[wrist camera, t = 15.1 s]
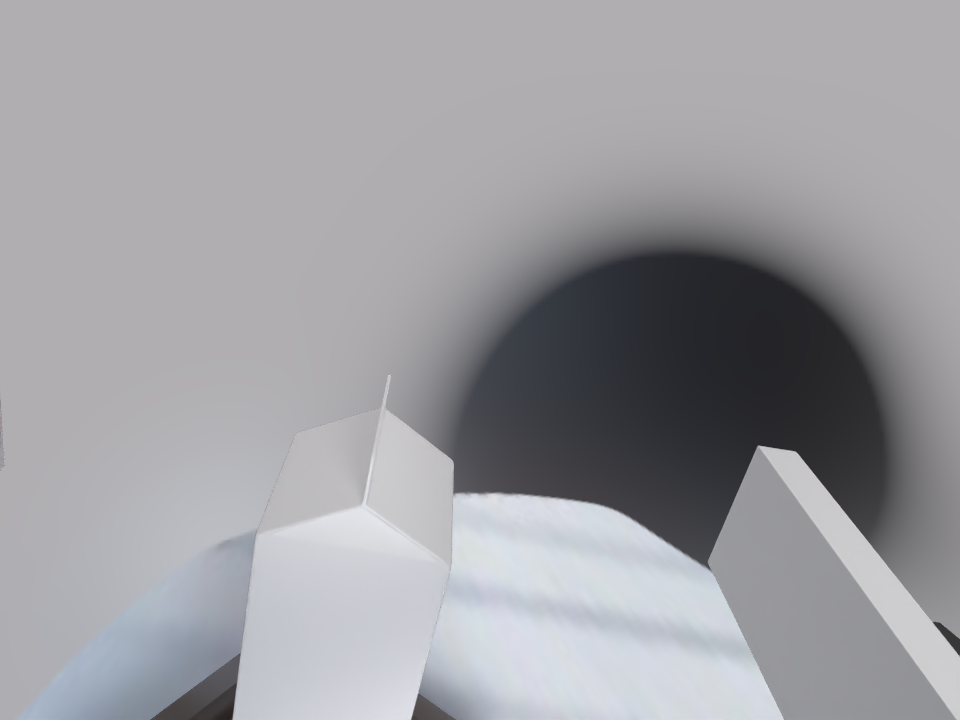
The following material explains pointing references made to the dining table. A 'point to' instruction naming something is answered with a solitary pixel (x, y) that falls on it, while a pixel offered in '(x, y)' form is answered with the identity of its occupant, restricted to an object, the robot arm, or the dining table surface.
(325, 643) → the milk
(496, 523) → the dining table surface
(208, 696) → the dock
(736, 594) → the robot arm
